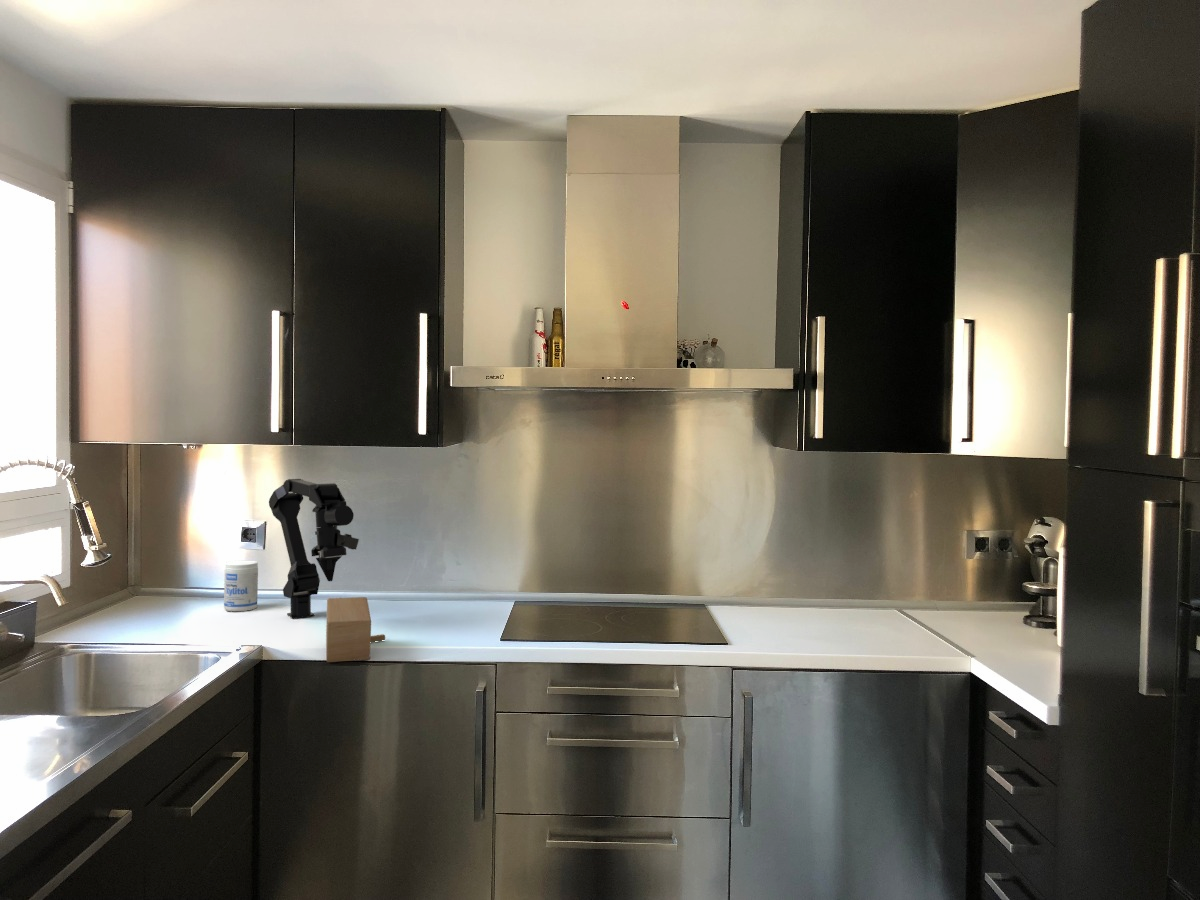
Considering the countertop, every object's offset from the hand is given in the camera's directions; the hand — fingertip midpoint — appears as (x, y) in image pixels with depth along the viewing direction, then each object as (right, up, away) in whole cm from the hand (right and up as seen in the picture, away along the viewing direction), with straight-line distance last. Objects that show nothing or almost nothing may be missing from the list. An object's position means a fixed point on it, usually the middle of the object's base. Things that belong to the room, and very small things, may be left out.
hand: (330, 581), depth 223 cm
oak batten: (+14, -13, -20) cm, 28 cm away
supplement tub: (-35, -13, +21) cm, 43 cm away
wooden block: (+11, -6, -18) cm, 21 cm away
